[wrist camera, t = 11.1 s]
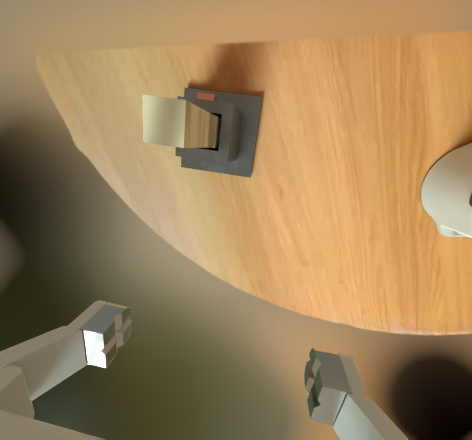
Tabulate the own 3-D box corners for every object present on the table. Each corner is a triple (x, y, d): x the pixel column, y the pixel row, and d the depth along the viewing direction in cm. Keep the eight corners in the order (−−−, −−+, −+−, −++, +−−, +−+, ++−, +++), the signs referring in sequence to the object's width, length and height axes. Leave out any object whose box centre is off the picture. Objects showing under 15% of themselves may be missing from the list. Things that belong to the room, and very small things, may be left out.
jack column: (223, 119, 34) (186, 99, 19) (220, 147, 35) (184, 148, 20) (198, 116, 34) (142, 93, 19) (196, 144, 36) (142, 142, 21)
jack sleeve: (262, 98, 39) (259, 80, 29) (250, 176, 44) (244, 186, 33) (187, 89, 41) (157, 69, 30) (183, 166, 45) (156, 172, 35)
